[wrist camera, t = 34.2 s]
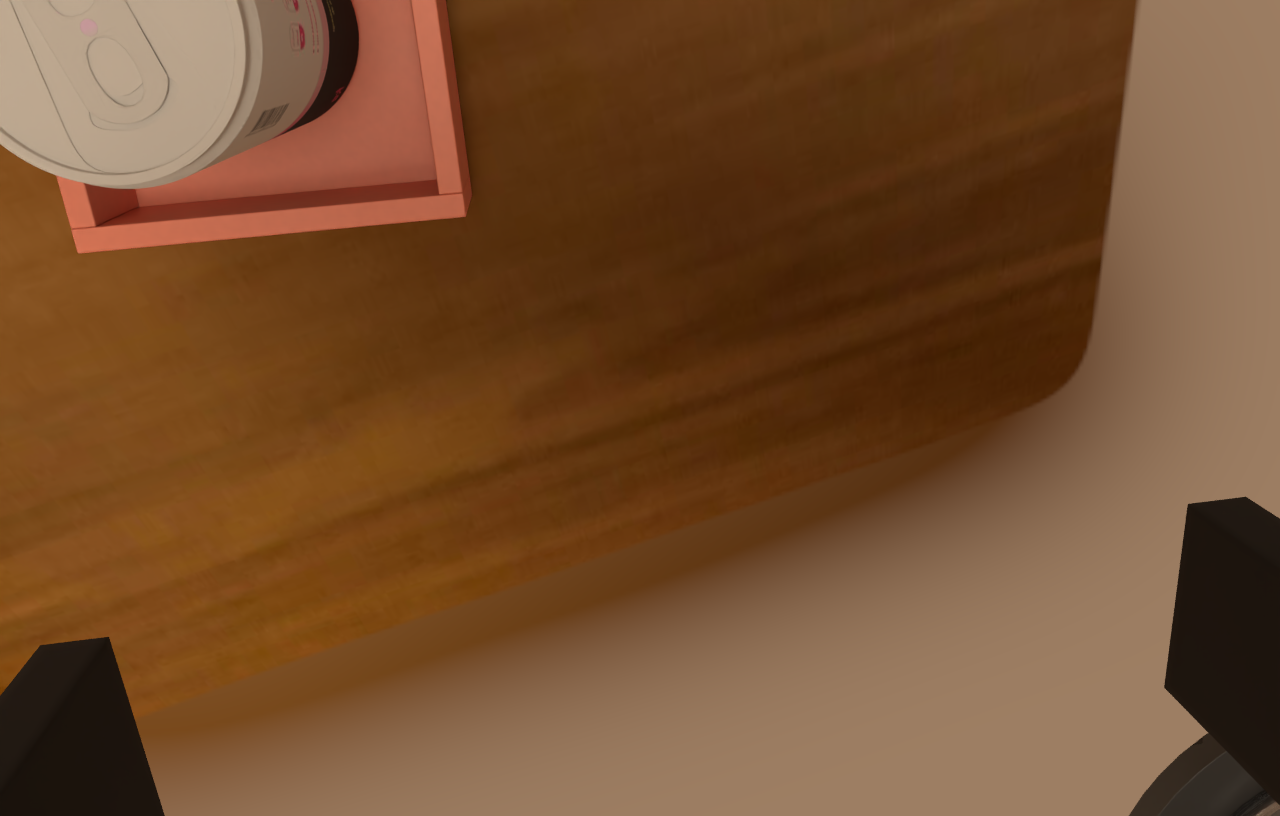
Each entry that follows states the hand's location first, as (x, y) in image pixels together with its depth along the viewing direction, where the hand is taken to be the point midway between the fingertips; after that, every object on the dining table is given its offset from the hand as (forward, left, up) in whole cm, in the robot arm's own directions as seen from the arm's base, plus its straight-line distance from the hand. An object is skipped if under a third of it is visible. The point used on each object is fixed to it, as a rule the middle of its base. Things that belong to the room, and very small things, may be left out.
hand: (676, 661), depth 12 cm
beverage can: (+8, +10, -28) cm, 31 cm away
